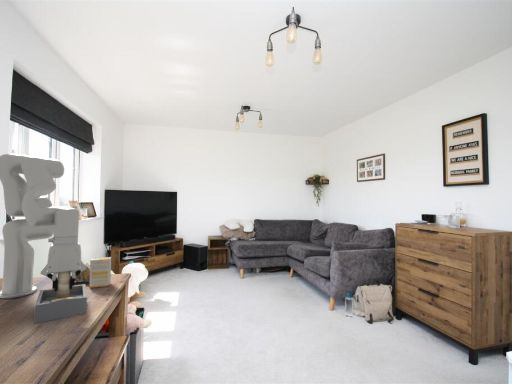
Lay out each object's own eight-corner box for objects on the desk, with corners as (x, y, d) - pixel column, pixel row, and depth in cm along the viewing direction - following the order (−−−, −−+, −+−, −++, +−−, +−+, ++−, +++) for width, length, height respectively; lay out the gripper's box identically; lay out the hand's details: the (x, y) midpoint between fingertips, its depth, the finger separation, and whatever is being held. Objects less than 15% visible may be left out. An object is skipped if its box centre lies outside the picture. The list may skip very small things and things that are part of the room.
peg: (56, 295, 97) (58, 269, 97) (69, 293, 99) (71, 267, 99) (56, 299, 93) (57, 271, 94) (69, 297, 96) (70, 270, 96)
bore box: (39, 305, 99) (40, 290, 99) (84, 298, 107) (85, 284, 107) (33, 323, 86) (34, 305, 86) (85, 313, 94) (86, 297, 94)
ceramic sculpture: (98, 259, 136) (90, 269, 122) (98, 275, 136) (89, 286, 122) (75, 260, 133) (63, 270, 119) (74, 276, 133) (63, 288, 119)
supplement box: (110, 283, 126) (112, 256, 126) (108, 286, 121) (110, 259, 122) (91, 284, 123) (92, 257, 123) (88, 288, 118) (90, 259, 119)
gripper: (35, 243, 89) (32, 297, 88) (92, 240, 99) (90, 288, 98) (38, 240, 95) (35, 290, 95) (91, 237, 105) (89, 282, 104)
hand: (63, 288), depth 96 cm, fingers closed on peg, 4 cm apart
